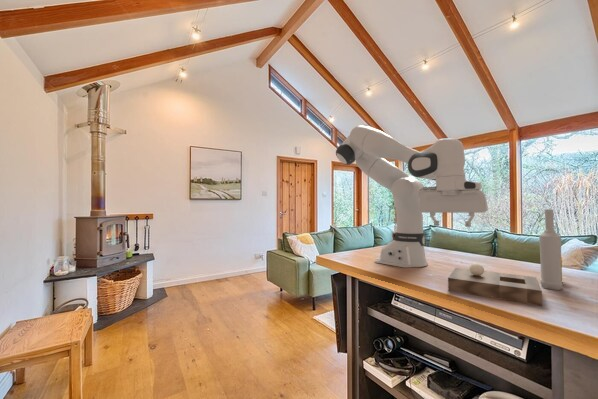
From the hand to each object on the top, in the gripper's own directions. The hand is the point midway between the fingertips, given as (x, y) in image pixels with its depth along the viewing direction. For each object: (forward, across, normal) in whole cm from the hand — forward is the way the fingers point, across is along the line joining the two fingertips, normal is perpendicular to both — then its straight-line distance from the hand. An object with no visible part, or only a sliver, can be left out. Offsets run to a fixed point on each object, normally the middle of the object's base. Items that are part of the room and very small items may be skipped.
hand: (451, 226), depth 91 cm
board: (+20, +11, 0) cm, 22 cm away
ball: (+14, +7, 0) cm, 15 cm away
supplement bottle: (+20, +26, +24) cm, 41 cm away
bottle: (+20, +26, +14) cm, 35 cm away
